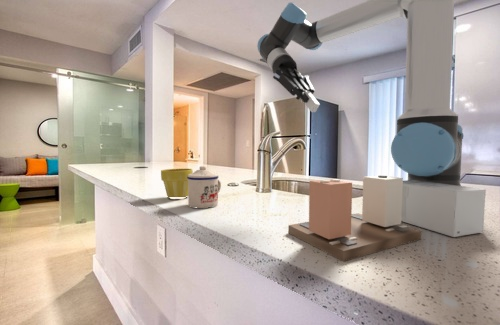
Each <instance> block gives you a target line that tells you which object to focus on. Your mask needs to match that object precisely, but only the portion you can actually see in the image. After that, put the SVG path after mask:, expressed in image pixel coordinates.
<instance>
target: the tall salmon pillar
mask: <svg viewBox="0 0 500 325" xmlns="http://www.w3.org/2000/svg"><path fill="white" fill-rule="evenodd" d="M308 185H309V192H308V195H309V196H308V202H309V203H308V222H309V231H311V232H313V233H316V234H318V235H320V236H322V237H325V238H327V239H334V238H338V237H343V236H347V235H351V214H353V213H352V208H353V207H352V206H353V201H352V200H353V182H350V181H344V180H341V179H337V178H331V179H330V178H329V179H320V180H319V179H317V180H316V179H315V180H309V184H308Z"/></svg>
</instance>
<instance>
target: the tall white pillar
mask: <svg viewBox="0 0 500 325" xmlns="http://www.w3.org/2000/svg"><path fill="white" fill-rule="evenodd" d="M403 178H404V177H396V176H388V175H370V176H363V178H362V180H363V182H362V213H361V214H362V220H363V221H366V222H370V223H373V224H376V225H380V226H383V227H388V226H392V225H397V224H399V225H402V221H401V216H402V188H403V181H404V179H403Z"/></svg>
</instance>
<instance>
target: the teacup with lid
mask: <svg viewBox="0 0 500 325" xmlns="http://www.w3.org/2000/svg"><path fill="white" fill-rule="evenodd" d="M187 178H188V198H187V199H188V200H187V201H188V207H190V206H191V207H190V208H192V207H197V208H196V209H198V208H203V209H209V208H208V207H212V208H214V207H213V206H215V207H217V206H218V205H219V193H220V191H221V188H222V182H221V181H220V179H219V175H218V173H215V172H213V171H211V170H210V169H207V166H206V165H201V166H199V169H197V170H195V171H194V172H193V173H192V174H189V175H188V177H187ZM216 205H217V206H216Z"/></svg>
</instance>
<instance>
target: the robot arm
mask: <svg viewBox="0 0 500 325" xmlns="http://www.w3.org/2000/svg"><path fill="white" fill-rule="evenodd" d="M454 11H455V0H365V1H364V2H361V3H359V4H356V5H353V6H351V7H348V8H346V9H343V10H341V11H339V12H337V13H334V14H331V15H329V16H327V17H324V18H321V19H319V20H317V21H313V22H311V23H310V22H309V21H308V20H306V19H307V17H308V13H307V12H306V11H304V10H303V9H302V8H301V7H300V6H298V5H296V4H295V3H294V2H288V3H287V4H286V6H285V7H284V9H283V10H282V12H281V13H280V15H279V17H278V18H277V21H276V22H275V23H274V26H273V27H272V29H271V30H270V32H269V33H266V34H264V35H262V36H260V38H259V39H258V41H257V44H256V45H257V46H256V47H257V51H258V52H259V54H260V56H261V58H262V59H263V60H264V62H265V63H266V64H267V65H268V67H269V68H270V70H271V72H272V73H273V76H272V79H274V80H276V81H277V82H278V83H279V84H281V86H282V87H283V88H284V89H285V90H286V91H287V92H289V94H290V95H291V96H296V98H295V99H297V100H298V101H299V100H301V101H302V102H303V103H304V104H305V105H306V107H307V108H308V110H309V111H310V112H311V113H316V112H317V110H319V107H320V105H321V104H320V102H319V101H318V100H317V98H315V95H314V93H315V91H316V89H315V88H314V86H313V84H312V82H311V80H310V75H308V74H306V75H302V73H301V72H300V71H298V65H297V62H296V61H295V60H294V59H293V57H292V56H291V54H289V52H288V51H287V50H286V49H287V47H288V46H289V44H290V43H291V41H292V42H294V43H295V44H298V45H299V46H301V47H302V48H305V50H309V51H316V50H318V49H319V48H320V47H321V46H322V45H323V43H326V42H329V41H332V40H335V39H338V38H341V37H344V36H347V35H350V34H354V33H356V32H360V31H363V30H366V29H368V28H371V27H374V26H377V25H380V24H383V23H387V22H389V21H393V20H396V19H399V18H403V19H404V20H407V22H406V23H407V24H406V25H407V26H406V51H405V52H406V54H405V55H406V56H405V83H404V84H405V86H404V88H405V89H404V90H405V91H404V110H403V111H404V112H402V114H401V115H400V116H399V117H397V119H396V135H394V137H393V140H392V142H391V145H390V153H391V156H392V157H391V158H392V160H393V162H394V163H395V165H396V166H397V167H398V168H399V169H400V170H402V171H404V172H405V173H407V180H418V181H426V182H434V183H441V184H449V185H457V186H462V185H461V170H462V152H463V151H462V150H463V139H464V133H463V127H462V125H460V124H459V114H457V112H454V111H453V110H452V109H451V86H452V64H453V63H452V62H453V60H452V59H453V39H454V38H453V37H454V36H453V35H454V13H455V12H454Z"/></svg>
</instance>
